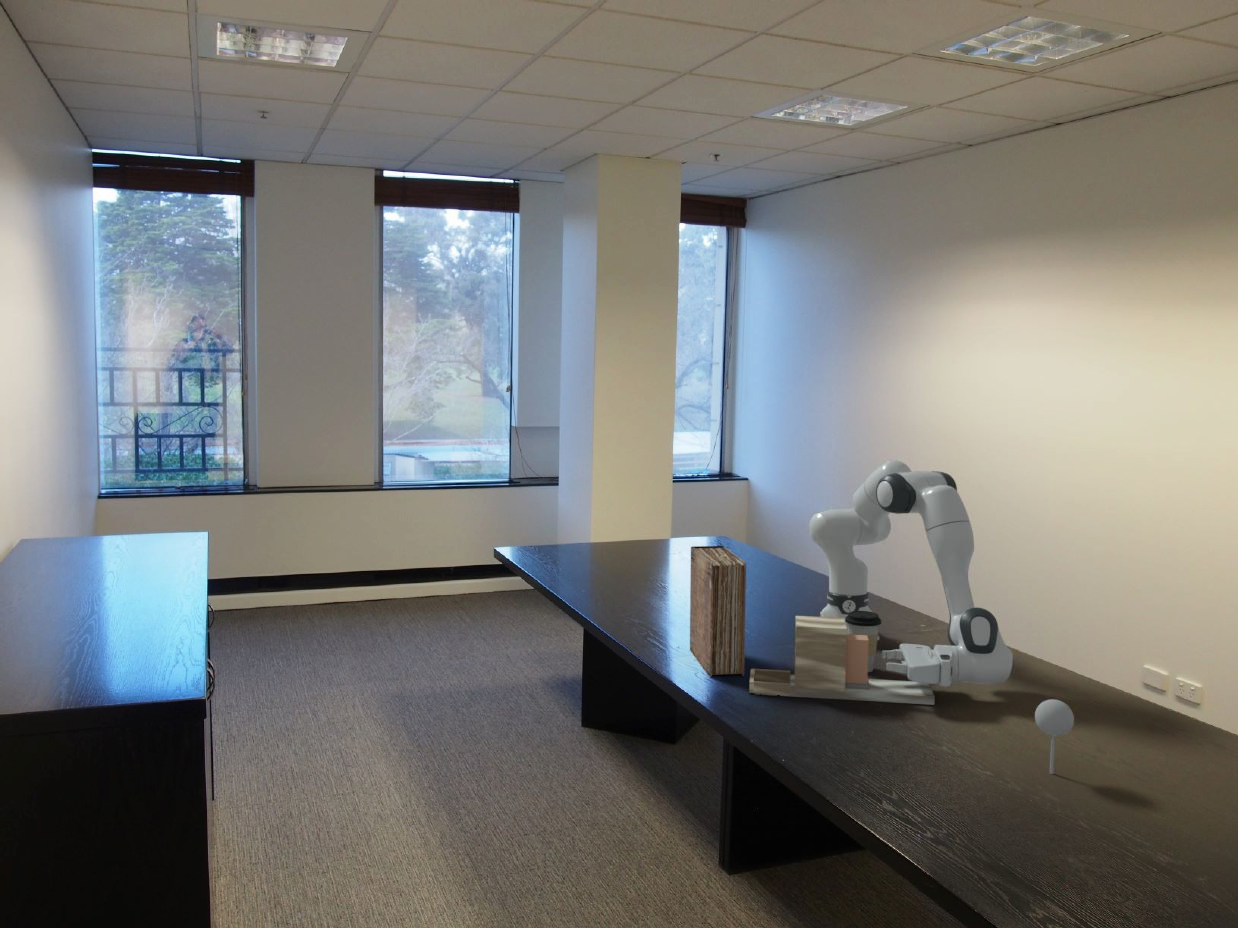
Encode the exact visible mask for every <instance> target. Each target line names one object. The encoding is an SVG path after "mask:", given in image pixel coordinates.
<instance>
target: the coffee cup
mask: <svg viewBox="0 0 1238 928" xmlns="http://www.w3.org/2000/svg"><path fill="white" fill-rule="evenodd" d="M845 622H847V626H848V630H847V634H849V635H867V637H868V640H869V643H868V673H871V672H873V670H874V663H875V656H876V653H877V646H878V641H879V640H878V636H879V627H880V625H882V619H881V618H880V616H879V614H878V613H876V612H874V611H872V612H869V611H852V612H849V613H848V616H847V617H846V619H845Z"/></svg>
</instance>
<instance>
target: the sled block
mask: <svg viewBox="0 0 1238 928" xmlns="http://www.w3.org/2000/svg"><path fill="white" fill-rule="evenodd" d="M868 643H869V640H868V637H867V635H849V634H847V636H846V670H845V688H856V689H869V687H870V685H869V681H868V679H869V678H868V674H869V672H868Z"/></svg>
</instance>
